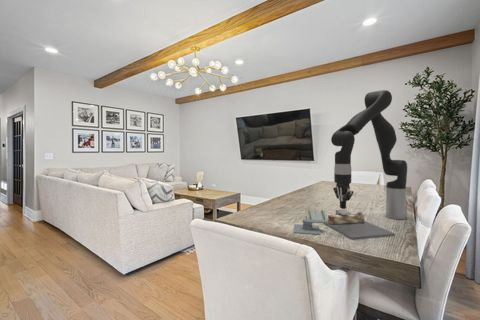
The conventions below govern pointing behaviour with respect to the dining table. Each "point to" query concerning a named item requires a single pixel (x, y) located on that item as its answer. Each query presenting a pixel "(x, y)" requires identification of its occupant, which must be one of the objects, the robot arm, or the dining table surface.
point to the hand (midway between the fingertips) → (342, 208)
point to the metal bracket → (316, 215)
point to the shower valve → (308, 227)
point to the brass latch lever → (345, 219)
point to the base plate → (360, 230)
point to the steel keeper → (342, 212)
